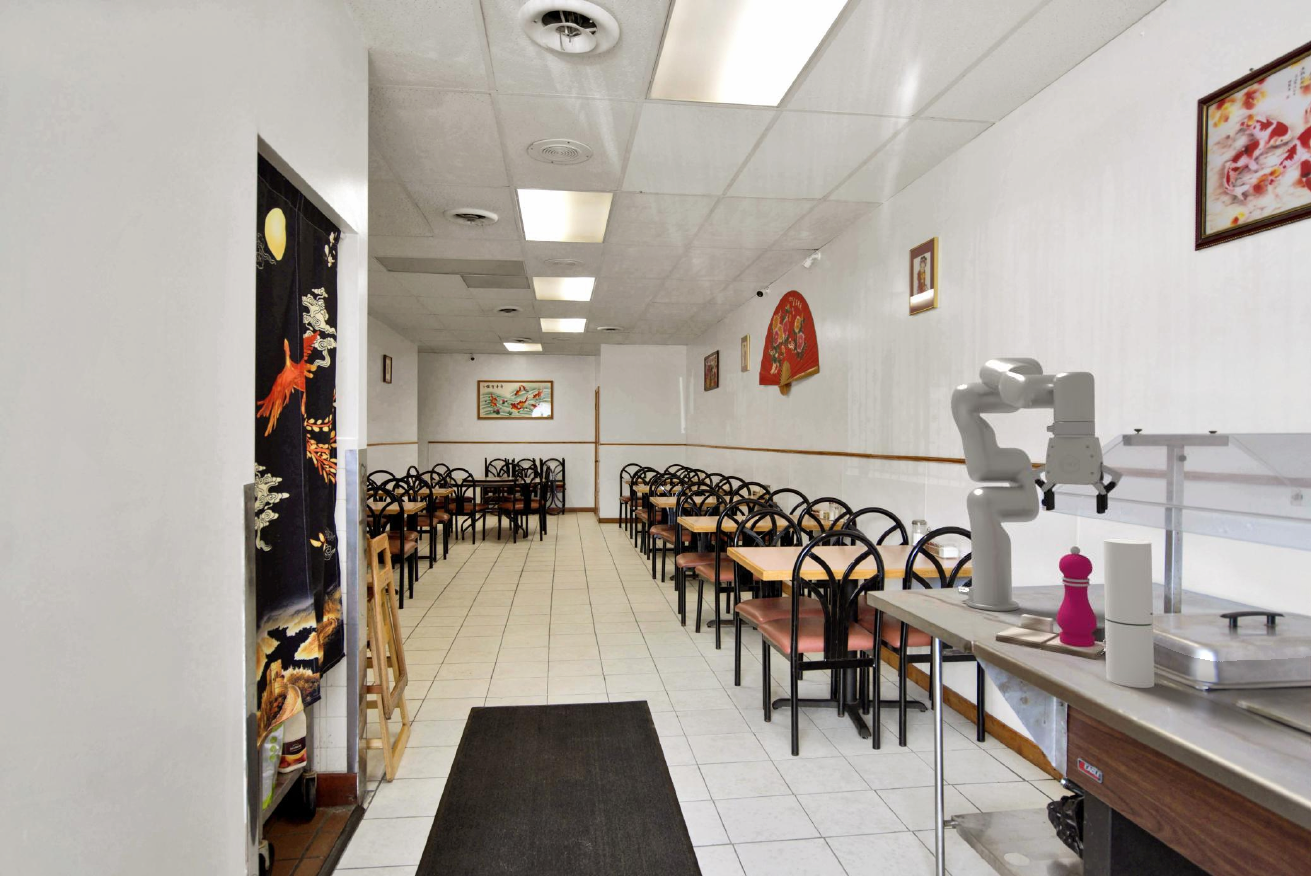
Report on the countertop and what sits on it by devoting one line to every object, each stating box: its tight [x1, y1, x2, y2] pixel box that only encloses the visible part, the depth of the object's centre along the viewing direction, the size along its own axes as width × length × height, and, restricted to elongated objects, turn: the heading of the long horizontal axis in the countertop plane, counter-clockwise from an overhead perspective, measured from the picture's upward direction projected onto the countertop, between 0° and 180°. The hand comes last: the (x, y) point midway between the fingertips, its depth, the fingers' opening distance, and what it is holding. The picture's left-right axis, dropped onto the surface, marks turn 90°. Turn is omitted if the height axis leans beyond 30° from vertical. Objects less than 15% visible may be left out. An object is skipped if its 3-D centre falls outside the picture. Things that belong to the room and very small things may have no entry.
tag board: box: [995, 613, 1105, 660], centre depth 149 cm, size 19×12×4 cm, turn 42°
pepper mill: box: [1056, 546, 1098, 647], centre depth 145 cm, size 7×7×20 cm
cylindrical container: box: [1102, 538, 1155, 689], centre depth 125 cm, size 7×7×25 cm
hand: (1075, 511), depth 148 cm, fingers open, 9 cm apart
